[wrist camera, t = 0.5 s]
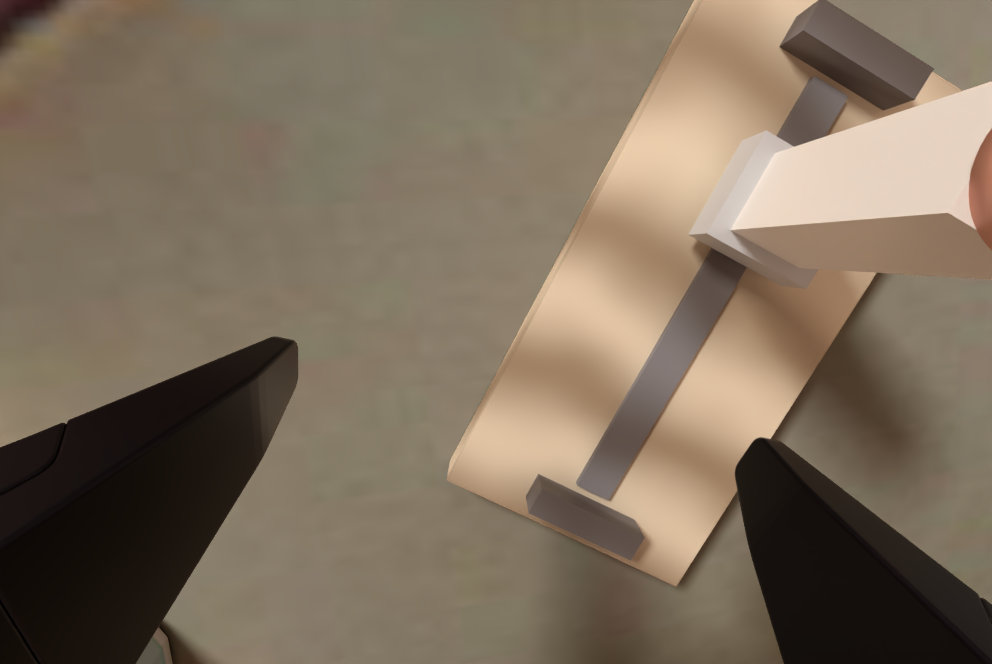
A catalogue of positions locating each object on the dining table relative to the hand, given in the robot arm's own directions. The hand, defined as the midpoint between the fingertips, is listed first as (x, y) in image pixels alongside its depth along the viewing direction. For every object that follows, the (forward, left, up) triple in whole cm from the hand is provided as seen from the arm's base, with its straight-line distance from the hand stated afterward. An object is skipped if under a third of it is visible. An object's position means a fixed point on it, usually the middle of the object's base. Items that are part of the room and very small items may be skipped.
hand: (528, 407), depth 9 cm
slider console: (0, -8, -13) cm, 15 cm away
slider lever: (+4, -10, -10) cm, 15 cm away
